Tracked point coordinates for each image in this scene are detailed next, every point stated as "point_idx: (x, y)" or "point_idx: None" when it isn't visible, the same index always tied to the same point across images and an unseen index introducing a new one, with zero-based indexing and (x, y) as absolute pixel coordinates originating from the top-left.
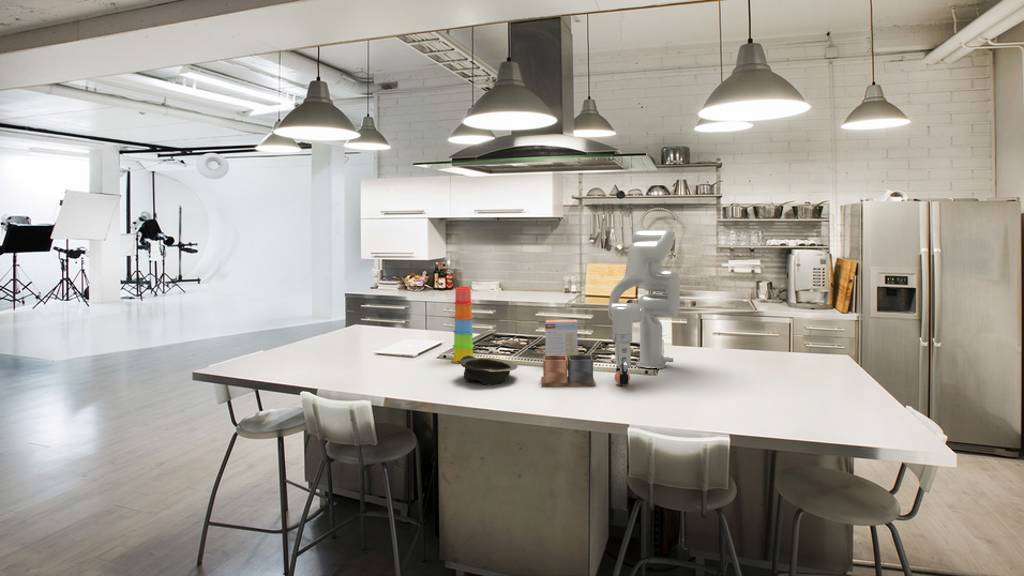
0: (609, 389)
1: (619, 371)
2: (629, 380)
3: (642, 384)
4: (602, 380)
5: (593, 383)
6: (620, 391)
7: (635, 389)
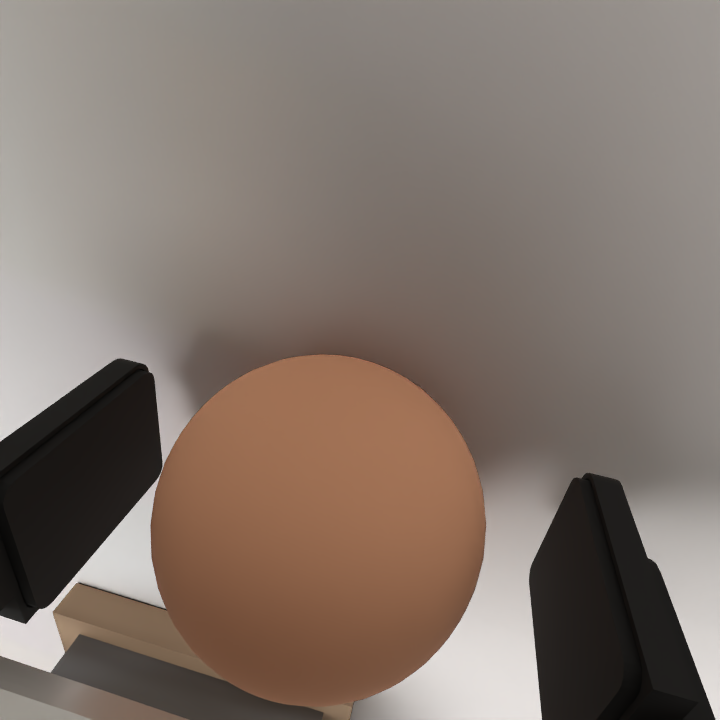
0: (528, 624)
1: (314, 705)
2: (412, 387)
3: (380, 19)
4: (123, 532)
5: (349, 718)
6: (694, 568)
7: (709, 323)
